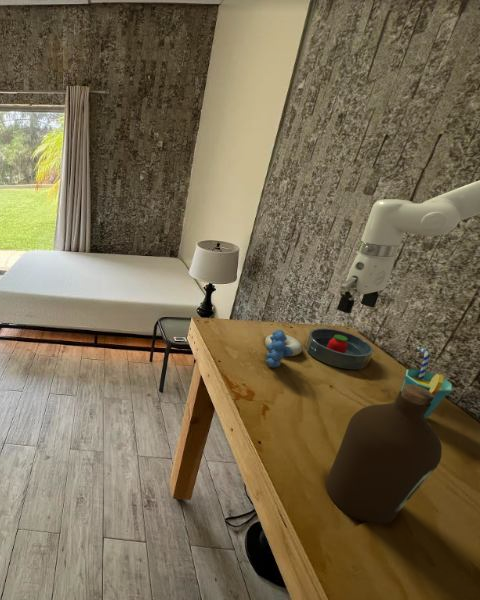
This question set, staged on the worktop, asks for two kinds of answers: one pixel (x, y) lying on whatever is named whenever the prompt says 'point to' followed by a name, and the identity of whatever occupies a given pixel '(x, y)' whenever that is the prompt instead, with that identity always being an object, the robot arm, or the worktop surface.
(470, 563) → the worktop surface
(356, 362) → the bowl
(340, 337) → the strawberry
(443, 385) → the cup
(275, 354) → the grapes
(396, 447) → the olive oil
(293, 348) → the donut
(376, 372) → the worktop surface
